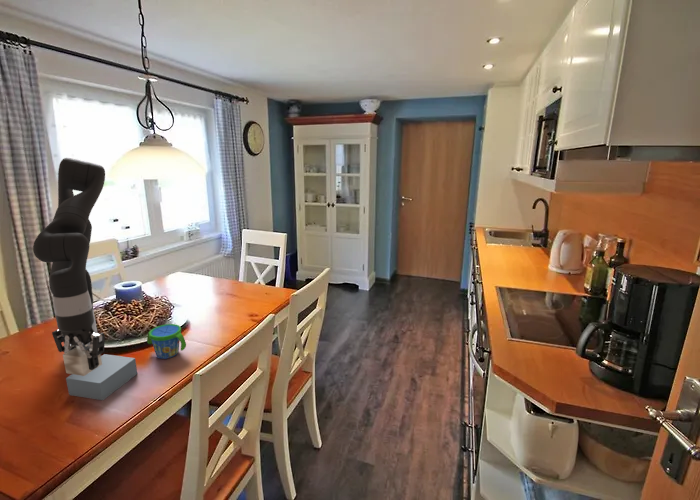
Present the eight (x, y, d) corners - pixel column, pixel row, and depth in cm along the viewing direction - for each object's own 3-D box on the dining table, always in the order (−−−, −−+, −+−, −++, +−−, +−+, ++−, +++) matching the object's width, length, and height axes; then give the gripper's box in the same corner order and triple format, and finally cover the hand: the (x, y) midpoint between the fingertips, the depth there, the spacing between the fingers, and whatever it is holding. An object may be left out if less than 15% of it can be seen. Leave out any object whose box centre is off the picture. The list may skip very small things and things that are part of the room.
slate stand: (69, 395, 108) (65, 378, 106) (106, 369, 121) (104, 354, 120) (102, 400, 106) (99, 383, 105) (137, 373, 119) (135, 358, 118)
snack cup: (194, 352, 134) (192, 328, 131) (171, 366, 124) (169, 341, 122) (164, 343, 139) (161, 320, 136) (140, 356, 130) (137, 332, 127)
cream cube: (66, 373, 92) (62, 354, 90) (85, 361, 97) (81, 344, 95) (84, 375, 91) (80, 357, 89) (102, 364, 96) (99, 346, 95)
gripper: (110, 306, 92) (118, 362, 96) (63, 300, 94) (74, 356, 98) (84, 318, 85) (95, 378, 89) (35, 312, 87) (47, 371, 91)
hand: (84, 366), depth 94 cm, fingers closed on cream cube, 5 cm apart
